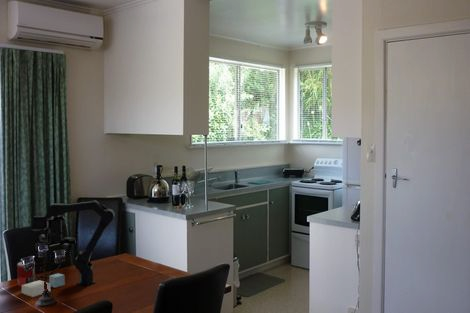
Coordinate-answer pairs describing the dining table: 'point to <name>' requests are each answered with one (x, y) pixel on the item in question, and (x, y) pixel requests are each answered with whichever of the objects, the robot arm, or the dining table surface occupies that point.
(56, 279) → the block
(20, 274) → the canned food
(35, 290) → the base box
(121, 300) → the dining table surface
